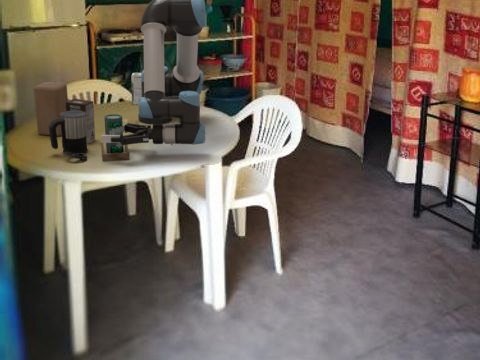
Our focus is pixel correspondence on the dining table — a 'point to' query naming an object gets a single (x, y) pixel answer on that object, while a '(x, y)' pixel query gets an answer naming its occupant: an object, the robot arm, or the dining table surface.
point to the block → (49, 105)
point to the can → (114, 132)
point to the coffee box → (89, 116)
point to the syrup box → (136, 88)
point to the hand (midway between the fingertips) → (104, 133)
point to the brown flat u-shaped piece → (115, 155)
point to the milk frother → (70, 133)
